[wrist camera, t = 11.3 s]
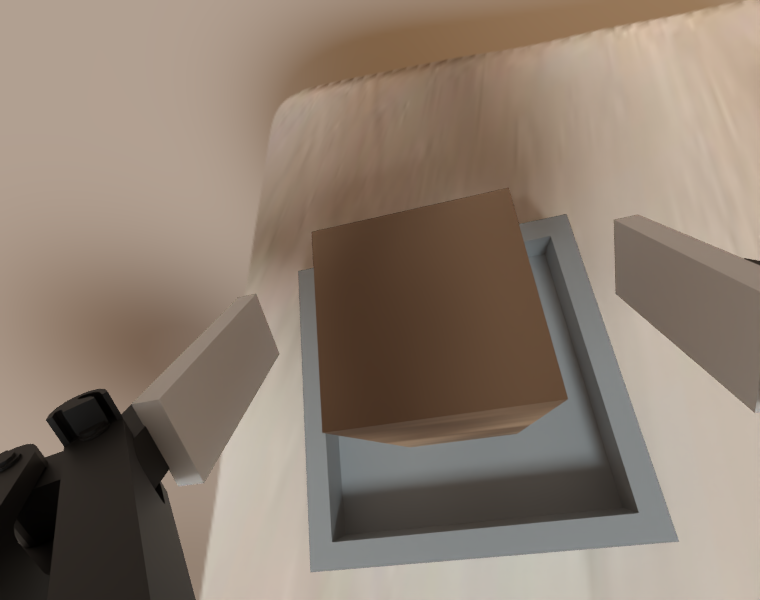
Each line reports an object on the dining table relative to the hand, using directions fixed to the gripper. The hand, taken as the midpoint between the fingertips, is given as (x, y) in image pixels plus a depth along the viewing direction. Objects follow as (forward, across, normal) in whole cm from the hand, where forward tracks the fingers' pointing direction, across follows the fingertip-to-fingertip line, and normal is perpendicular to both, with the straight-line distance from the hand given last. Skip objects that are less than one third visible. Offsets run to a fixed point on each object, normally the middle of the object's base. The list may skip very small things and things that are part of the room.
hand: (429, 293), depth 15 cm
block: (+3, 0, -6) cm, 7 cm away
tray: (+3, 0, -7) cm, 8 cm away
